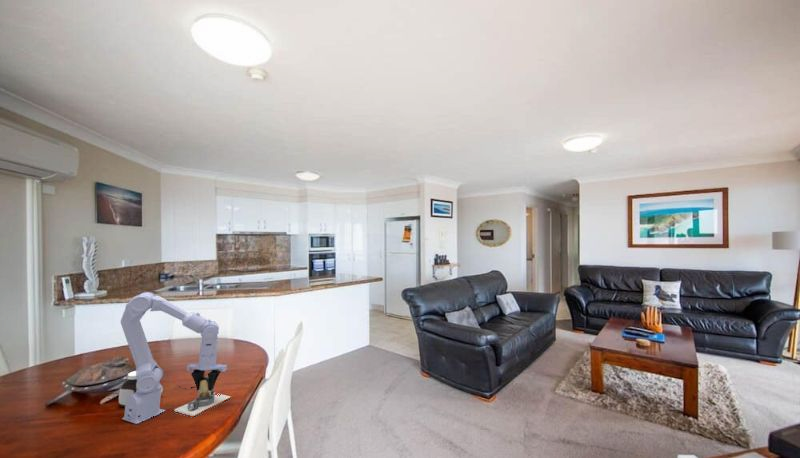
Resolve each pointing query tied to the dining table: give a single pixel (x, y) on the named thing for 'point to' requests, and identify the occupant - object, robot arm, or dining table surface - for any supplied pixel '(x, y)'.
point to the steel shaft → (193, 405)
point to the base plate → (192, 413)
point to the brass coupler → (204, 387)
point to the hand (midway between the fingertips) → (205, 389)
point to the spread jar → (128, 388)
